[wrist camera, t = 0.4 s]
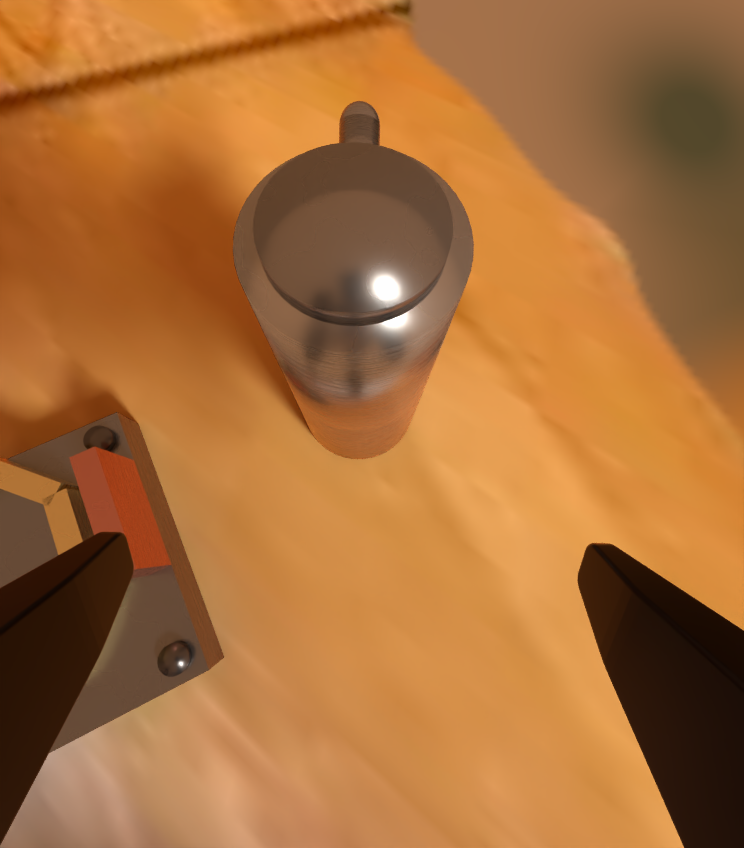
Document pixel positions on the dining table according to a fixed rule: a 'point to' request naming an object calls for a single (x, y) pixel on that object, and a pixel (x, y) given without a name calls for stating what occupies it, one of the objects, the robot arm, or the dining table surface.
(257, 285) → the spout can
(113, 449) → the grey base with ring
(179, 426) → the dining table surface
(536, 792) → the dining table surface
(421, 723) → the dining table surface
